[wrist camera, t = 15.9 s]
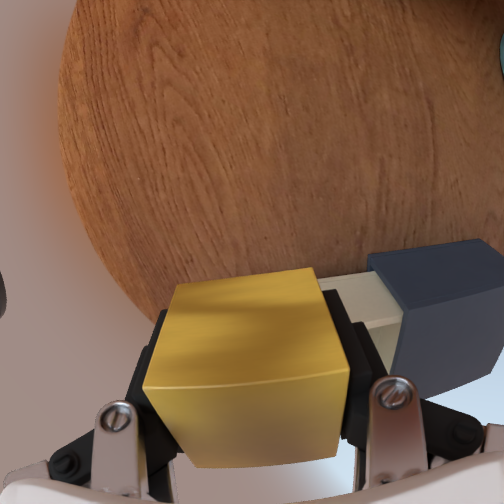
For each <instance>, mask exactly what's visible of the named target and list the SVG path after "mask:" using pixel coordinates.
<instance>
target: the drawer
mask: <svg viewBox="0 0 504 504" xmlns="http://www.w3.org/2000/svg"><path fill="white" fill-rule="evenodd" d="M317 280H318V283H319V286H320V288H321V291H323V290H330V289H336V290H337V292H338V294H339V296H340V298H341V300H342V302H343V305H344V307H345V309H346V311H347V314H348V316H349V318H350V320H351V323H354V322H360V321H362V322H364V324H365V326H366V328H367V330H368V332H369V334H370V336H371V338H372V340H373V342H374V344H375V347H376V349H377V351H378V353H379V355H380V357H381V359H382V362H383V364H384V366H385V368H386V370H387V373H388V375H389V373H390V369H391V365H392V361H393V357H394V353H395V349H396V345H397V341H398V337H399V332H400V327H401V323H402V318H403V313H404V312H403V311H402V309H401V308H400V306H399V305H398V303H397V302H396V300H395V299H394V297H393V296H392V294H391V293H390V292H389V290H388V289H387V287H386V286H385V284H384V283H383V282H382V280H381V279H380V277H379V276H378V275H377V273H376V272H375V271H372V272H365V273H358V274H351V275H344V276H337V277H329V278H322V279H317Z"/></svg>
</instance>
